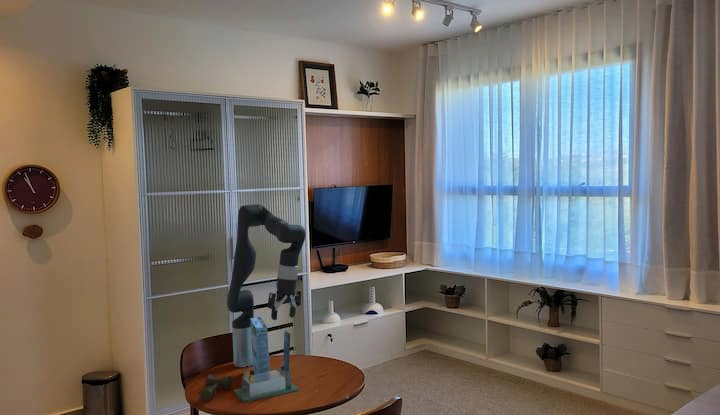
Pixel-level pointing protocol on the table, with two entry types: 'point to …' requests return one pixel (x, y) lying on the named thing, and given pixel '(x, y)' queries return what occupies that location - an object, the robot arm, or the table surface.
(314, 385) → the table surface
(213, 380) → the kendama
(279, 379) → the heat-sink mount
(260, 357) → the gum box
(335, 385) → the table surface
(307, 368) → the table surface
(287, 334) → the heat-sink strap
